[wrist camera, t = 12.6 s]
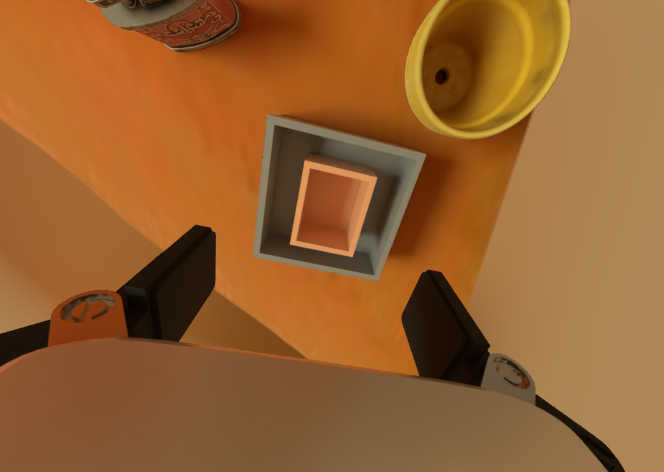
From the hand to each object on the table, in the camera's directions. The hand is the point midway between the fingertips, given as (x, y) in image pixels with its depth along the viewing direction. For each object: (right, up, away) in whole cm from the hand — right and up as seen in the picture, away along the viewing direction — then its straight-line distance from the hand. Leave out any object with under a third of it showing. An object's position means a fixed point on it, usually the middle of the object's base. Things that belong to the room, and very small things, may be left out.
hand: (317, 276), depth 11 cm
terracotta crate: (0, +7, +19) cm, 20 cm away
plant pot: (+12, +18, +15) cm, 26 cm away
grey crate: (+1, +7, +20) cm, 21 cm away
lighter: (-12, +22, +13) cm, 28 cm away
